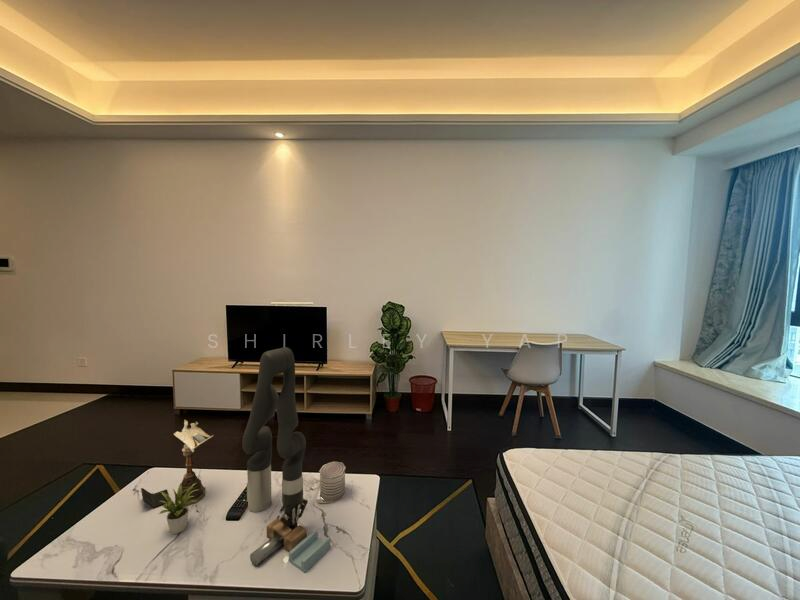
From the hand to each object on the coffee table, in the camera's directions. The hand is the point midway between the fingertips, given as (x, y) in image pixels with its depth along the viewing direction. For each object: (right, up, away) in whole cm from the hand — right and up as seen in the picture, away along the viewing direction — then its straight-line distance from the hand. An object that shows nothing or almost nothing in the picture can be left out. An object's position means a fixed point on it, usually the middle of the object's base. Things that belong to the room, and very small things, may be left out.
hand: (293, 531), depth 123 cm
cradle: (+9, -2, -9) cm, 13 cm away
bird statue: (-50, 0, +21) cm, 54 cm away
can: (+10, 0, +23) cm, 25 cm away
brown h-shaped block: (-2, -1, -2) cm, 3 cm away
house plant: (-44, -1, +2) cm, 44 cm away
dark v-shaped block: (-66, 0, +18) cm, 68 cm away
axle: (-5, 0, -8) cm, 9 cm away
